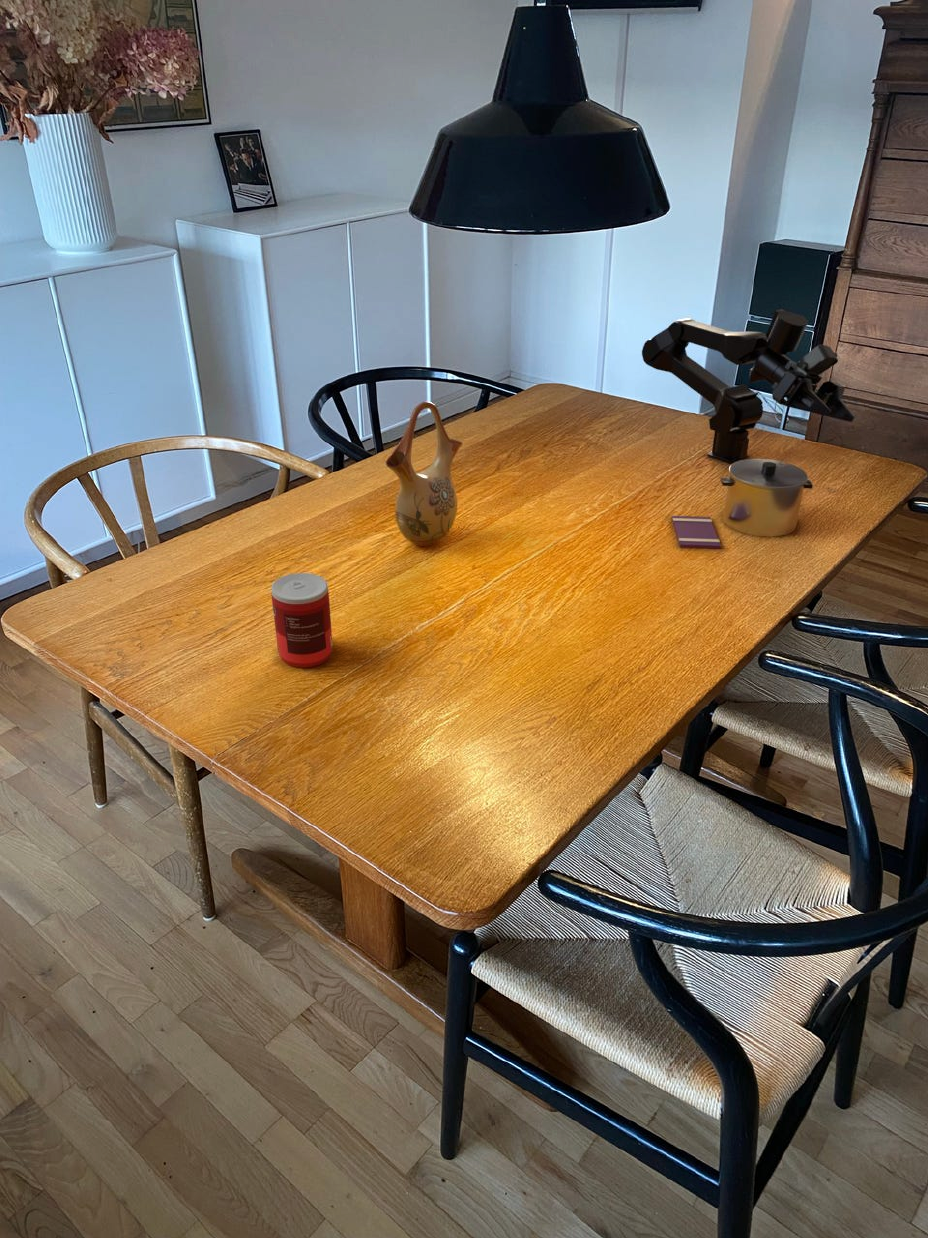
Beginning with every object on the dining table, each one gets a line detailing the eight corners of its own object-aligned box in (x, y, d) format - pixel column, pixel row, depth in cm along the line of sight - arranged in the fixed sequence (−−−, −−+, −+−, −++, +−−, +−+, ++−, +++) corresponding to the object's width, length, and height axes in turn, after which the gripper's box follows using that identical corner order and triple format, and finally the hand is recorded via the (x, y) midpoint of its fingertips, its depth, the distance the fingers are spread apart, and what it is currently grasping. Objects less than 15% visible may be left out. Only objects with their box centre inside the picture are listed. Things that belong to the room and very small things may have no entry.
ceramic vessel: (410, 564, 155) (406, 419, 142) (375, 547, 161) (367, 406, 148) (477, 534, 165) (479, 396, 153) (442, 519, 171) (440, 385, 158)
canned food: (307, 633, 136) (300, 566, 131) (345, 652, 132) (340, 584, 126) (266, 655, 131) (258, 586, 126) (305, 675, 127) (297, 605, 121)
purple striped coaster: (671, 518, 172) (671, 515, 171) (709, 519, 171) (710, 516, 171) (679, 547, 161) (680, 543, 161) (720, 548, 161) (721, 545, 161)
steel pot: (709, 505, 177) (718, 449, 171) (793, 507, 176) (805, 451, 170) (721, 536, 165) (731, 477, 160) (812, 539, 164) (825, 479, 159)
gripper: (782, 327, 171) (845, 371, 162) (831, 344, 183) (891, 385, 175) (747, 380, 176) (806, 425, 168) (796, 393, 189) (853, 436, 180)
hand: (841, 416), depth 173 cm, fingers open, 9 cm apart
